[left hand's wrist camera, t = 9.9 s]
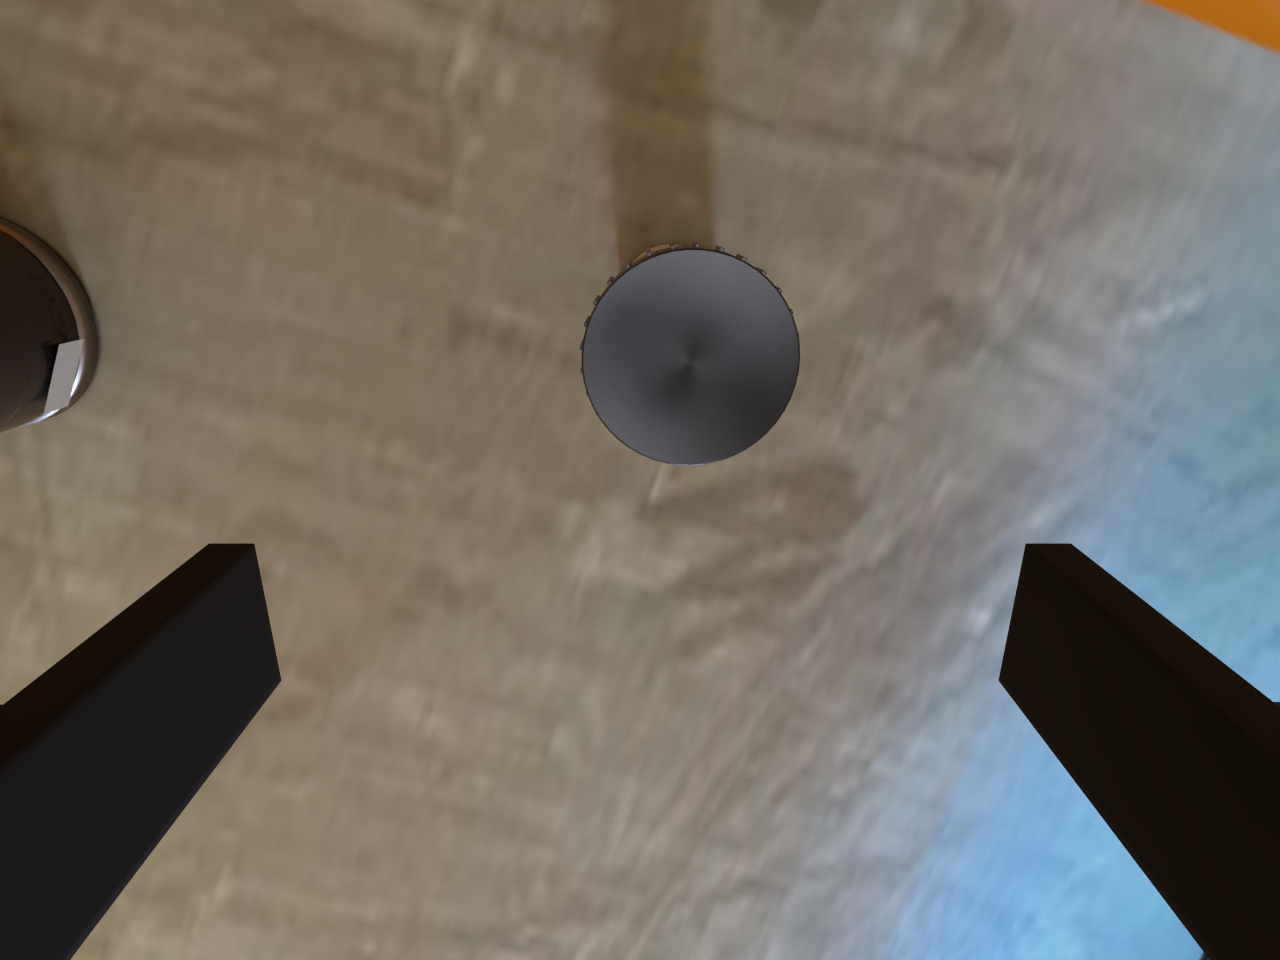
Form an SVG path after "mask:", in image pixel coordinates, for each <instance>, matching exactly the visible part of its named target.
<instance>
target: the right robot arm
mask: <svg viewBox="0 0 1280 960" xmlns="http://www.w3.org/2000/svg"><path fill="white" fill-rule="evenodd" d="M97 353H98V339H97V331H96V325H95V321H94V317H93V314H92V311H91V308H90V305H89V303H88V301H87V298H86V296H85V294H84V292H83V290H82V288H81V287H80V285H79V283H78V282H77V280H76V279H75V277H74V276H73V274H72V273H71V272H70V270H69V269H68V268H67V266H66V265H65V264H64V263H63V262H62V261H61V259H60V258H59V257H58V256H57V255H56V254H55V253H54V252H53V251H52V250H51V249H50V248H49V247H47V246H46V245H45V244H44V243H43V242H41V241H40V240H39V239H37V238H36V237H35V236H33V235H32V234H31V233H29V232H27V231H26V230H24V229H22V228H21V227H19V226H17V225H15V224H13V223H11V222H9V221H7V220H4V219H2V218H0V432H3V431H5V430H8V429H11V428H17V427H22V426H27V425H30V424H33V423H36V422H39V421H42V420H45V419H48V418H51V417H53V416H56V415H58V414H60V413H62V412H63V411H65V410H67V409H68V408H69V407H71V406H72V405H73V404H74V403H75V402H76V401H77V400H78V399H79V398H80V397H81V396H82V394H83V393H84V392H85V390H86V389H87V387H88V385H89V384H90V381H91V379H92V377H93V374H94V370H95V367H96V362H97Z"/></svg>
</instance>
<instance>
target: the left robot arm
mask: <svg viewBox="0 0 1280 960" xmlns="http://www.w3.org/2000/svg"><path fill="white" fill-rule="evenodd" d="M280 682H281V677H280V672H279V667H278V661H277V656H276V651H275V646H274V641H273V636H272V631H271V626H270V621H269V616H268V611H267V606H266V601H265V596H264V591H263V586H262V581H261V576H260V571H259V566H258V561H257V555H256V550H255V545H254V544H208V545H207V546H205V547H204V548H203V549H202V550H200V551H199V552H198V553H197V554H195V555H194V556H193V557H191V558H190V559H189V560H188V561H186V562H185V563H184V564H182V565H181V566H180V567H179V568H177V569H176V570H175V571H174V572H172V573H171V574H170V575H168V576H167V577H166V578H165V579H163V580H162V581H161V582H159V583H158V584H157V585H156V586H154V587H153V588H152V589H151V590H149V591H148V592H147V593H145V594H144V595H143V596H142V597H140V598H139V599H138V600H136V601H135V602H134V603H133V604H131V605H130V606H129V607H128V608H126V609H125V610H124V611H122V612H121V613H120V614H119V615H117V616H116V617H115V618H113V619H112V620H111V621H110V622H108V623H107V624H106V625H105V626H103V627H102V628H101V629H99V630H98V631H97V632H96V633H94V634H93V635H92V636H90V637H89V638H88V639H87V640H85V641H84V642H83V643H82V644H80V645H79V646H78V647H76V648H75V649H74V650H73V651H71V652H70V653H69V654H67V655H66V656H65V657H64V658H62V659H61V660H60V661H59V662H57V663H56V664H55V665H53V666H52V667H51V668H50V669H48V670H47V671H46V672H44V673H43V674H42V675H41V676H39V677H38V678H37V679H36V680H34V681H33V682H32V683H30V684H29V685H28V686H27V687H25V688H24V689H23V690H21V691H20V692H19V693H18V694H16V695H15V696H14V697H13V698H11V699H10V700H9V701H7V702H6V703H5V704H4V705H0V960H70V959H71V958H72V957H73V955H74V954H75V953H76V951H77V950H78V949H79V947H80V946H81V945H82V943H83V942H84V941H85V939H86V938H87V937H88V935H89V934H90V933H91V931H92V930H93V929H94V927H95V926H96V925H97V923H98V922H99V921H100V920H101V918H102V917H103V916H104V914H105V913H106V912H107V910H108V909H109V908H110V906H111V905H112V904H113V902H114V901H115V900H116V898H117V897H118V896H119V894H120V893H121V892H122V890H123V889H124V888H125V886H126V885H127V884H128V883H129V881H130V880H131V879H132V877H133V876H134V875H135V873H136V872H137V871H138V869H139V868H140V867H141V865H142V864H143V863H144V861H145V860H146V859H147V857H148V856H149V855H150V853H151V852H152V851H153V849H154V848H155V847H156V845H157V844H158V843H159V842H160V840H161V839H162V838H163V836H164V835H165V834H166V832H167V831H168V830H169V828H170V827H171V826H172V824H173V823H174V822H175V820H176V819H177V818H178V816H179V815H180V814H181V812H182V811H183V810H184V808H185V807H186V806H187V805H188V803H189V802H190V801H191V799H192V798H193V797H194V795H195V794H196V793H197V791H198V790H199V789H200V787H201V786H202V785H203V783H204V782H205V781H206V779H207V778H208V777H209V775H210V774H211V773H212V771H213V770H214V769H215V768H216V766H217V765H218V764H219V762H220V761H221V760H222V758H223V757H224V756H225V754H226V753H227V752H228V750H229V749H230V748H231V746H232V745H233V744H234V742H235V741H236V740H237V738H238V737H239V736H240V734H241V733H242V732H243V730H244V729H245V728H246V727H247V725H248V724H249V723H250V721H251V720H252V719H253V717H254V716H255V715H256V713H257V712H258V711H259V709H260V708H261V707H262V705H263V704H264V703H265V701H266V700H267V699H268V697H269V696H270V695H271V693H272V692H273V691H274V690H275V688H276V687H277V686H278V684H279V683H280ZM999 682H1000V683H1001V684H1002V686H1003V687H1004V688H1005V690H1006V691H1007V692H1008V693H1009V695H1010V696H1011V697H1012V699H1013V700H1014V701H1015V703H1016V704H1017V705H1018V707H1019V708H1020V709H1021V711H1022V712H1023V713H1024V715H1025V716H1026V717H1027V719H1028V720H1029V721H1030V723H1031V724H1032V725H1033V727H1034V728H1035V729H1036V730H1037V732H1038V733H1039V734H1040V736H1041V737H1042V738H1043V740H1044V741H1045V742H1046V744H1047V745H1048V746H1049V748H1050V749H1051V750H1052V752H1053V753H1054V754H1055V756H1056V757H1057V758H1058V760H1059V761H1060V762H1061V764H1062V765H1063V766H1064V768H1065V769H1066V770H1067V771H1068V773H1069V774H1070V775H1071V777H1072V778H1073V779H1074V781H1075V782H1076V783H1077V785H1078V786H1079V787H1080V789H1081V790H1082V791H1083V793H1084V794H1085V795H1086V797H1087V798H1088V799H1089V801H1090V802H1091V803H1092V805H1093V806H1094V807H1095V808H1096V810H1097V811H1098V812H1099V814H1100V815H1101V816H1102V818H1103V819H1104V820H1105V822H1106V823H1107V824H1108V826H1109V827H1110V828H1111V830H1112V831H1113V832H1114V834H1115V835H1116V836H1117V838H1118V839H1119V840H1120V842H1121V843H1122V844H1123V845H1124V847H1125V848H1126V849H1127V851H1128V852H1129V853H1130V855H1131V856H1132V857H1133V859H1134V860H1135V861H1136V863H1137V864H1138V865H1139V867H1140V868H1141V869H1142V871H1143V872H1144V873H1145V875H1146V876H1147V877H1148V879H1149V880H1150V881H1151V883H1152V884H1153V885H1154V886H1155V888H1156V889H1157V890H1158V892H1159V893H1160V894H1161V896H1162V897H1163V898H1164V900H1165V901H1166V902H1167V904H1168V905H1169V906H1170V908H1171V909H1172V910H1173V912H1174V913H1175V914H1176V916H1177V917H1178V918H1179V920H1180V921H1181V922H1182V923H1183V925H1184V926H1185V927H1186V929H1187V930H1188V931H1189V933H1190V934H1191V935H1192V937H1193V938H1194V939H1195V941H1196V942H1197V943H1198V945H1199V946H1200V947H1201V949H1202V950H1203V951H1204V953H1205V954H1206V955H1207V957H1208V958H1207V959H1206V960H1280V702H1273V701H1271V700H1270V699H1269V698H1267V697H1266V696H1265V695H1264V694H1262V693H1261V692H1260V691H1259V690H1257V689H1256V688H1255V687H1253V686H1252V685H1251V684H1250V683H1248V682H1247V681H1246V680H1244V679H1243V678H1242V677H1241V676H1239V675H1238V674H1237V673H1236V672H1234V671H1233V670H1232V669H1230V668H1229V667H1228V666H1227V665H1225V664H1224V663H1223V662H1221V661H1220V660H1219V659H1218V658H1216V657H1215V656H1214V655H1213V654H1211V653H1210V652H1209V651H1207V650H1206V649H1205V648H1204V647H1202V646H1201V645H1200V644H1198V643H1197V642H1196V641H1195V640H1193V639H1192V638H1191V637H1190V636H1188V635H1187V634H1186V633H1184V632H1183V631H1182V630H1181V629H1179V628H1178V627H1177V626H1175V625H1174V624H1173V623H1172V622H1170V621H1169V620H1168V619H1167V618H1165V617H1164V616H1163V615H1161V614H1160V613H1159V612H1158V611H1156V610H1155V609H1154V608H1152V607H1151V606H1150V605H1149V604H1147V603H1146V602H1145V601H1144V600H1142V599H1141V598H1140V597H1138V596H1137V595H1136V594H1135V593H1133V592H1132V591H1131V590H1129V589H1128V588H1127V587H1126V586H1124V585H1123V584H1122V583H1121V582H1119V581H1118V580H1117V579H1115V578H1114V577H1113V576H1112V575H1110V574H1109V573H1108V572H1106V571H1105V570H1104V569H1103V568H1101V567H1100V566H1099V565H1098V564H1096V563H1095V562H1094V561H1092V560H1091V559H1090V558H1089V557H1087V556H1086V555H1085V554H1083V553H1082V552H1081V551H1080V550H1078V549H1077V548H1076V547H1075V546H1073V545H1072V544H1026V545H1025V550H1024V555H1023V560H1022V566H1021V571H1020V576H1019V581H1018V586H1017V591H1016V596H1015V601H1014V606H1013V611H1012V616H1011V621H1010V626H1009V631H1008V636H1007V641H1006V646H1005V651H1004V656H1003V661H1002V667H1001V672H1000V677H999Z"/></svg>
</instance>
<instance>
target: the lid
mask: <svg viewBox="0 0 1280 960" xmlns="http://www.w3.org/2000/svg"><path fill="white" fill-rule="evenodd" d="M746 260H747V258H745V257H744V256H741V255H739V254H737V256H736V257H735V256H733V255H731V254H728V253H726V252H724V248H722V247H720V246H715V249H714V248H710V247H703V246H700V244H699V243H697V242H692V246H687V245H683V246H675V245H674V244H673V243H671V244H669V248H665V249H661V250H657V251H655V252H651V250H648V251H647V255H645V256H643V257H641V258H640V259H638V260H636V261H634V262H633V263H631V262H630V261H628V262H627V263H626V265H625V267H626V268H625V269H624V270H622V271H621V272H620V273H619V274H618V275H617V276H616V277H615V278H613V277H612V276H611V277H610V279H609V280H608V282H607V284H608V286H607V288H606V289H605V290H604V292H603V293H602V295H601V296H599V295H597V297H596V299H595V300H594V302H593V304H594V305H596V306H595V308H594V310H593V312H592V314H591V316H588V318H587V319H586V321H585V324H584V326H585V327H586V331H585V335H584V339H583V341H582V343H581V345H580V350H582V367H581V373H583V379H584V384H585V387H586V394H587V396H588V397H589V399H590V401H591V404H592V406H593V408H594V410H595V412H596V414H597V415H598V417H599V418H600V420H601V421H602V422H603V424H604V425H605V426H606V428H607V429H608V430H609V431H610V432H611V433H612V434H613V435H614V436H615V437H616V438H617V439H618V440H619V441H621V442H622V443H623V444H625V445H626V446H627V447H629V448H630V449H632V450H634V451H635V452H637V453H639V454H641V455H643V456H646V457H648V458H650V459H653V460H656V461H660V462H663V463H668V464H675V465H702V464H709V463H713V462H717V461H721V460H724V459H727V458H729V457H732V456H734V455H736V454H738V453H740V452H742V451H744V450H746V449H747V448H749V447H750V446H752V445H753V444H755V443H756V442H757V441H758V440H760V439H761V438H762V437H763V436H764V435H765V434H766V433H768V431H769V430H770V429H771V428H772V427H773V426H774V425H775V423H776V422H777V421H778V419H779V418H780V416H781V415H782V414H783V412H784V411H785V409H786V407H787V405H788V403H789V401H790V399H791V396H792V394H793V391H794V388H795V385H796V381H797V377H798V372H799V363H800V345H799V338H798V337H799V333H798V332H797V327H796V324H795V321H794V318H793V315H792V314H793V312H792V309H790V308H789V307H788V304H787V302H786V301H785V299H784V298H783V296H782V295H781V293H782V291H781V289H780V288H778V287H776V286H775V285H774V284H773V283H772V282H771V281H770V280H769V279H768V278H767V277H766V276H765V275H766V272H765V271H764V270H762V269H760V268H757V267H756V268H755V267H753V266H752V265H750V264H749V263H747V262H746Z"/></svg>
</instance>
